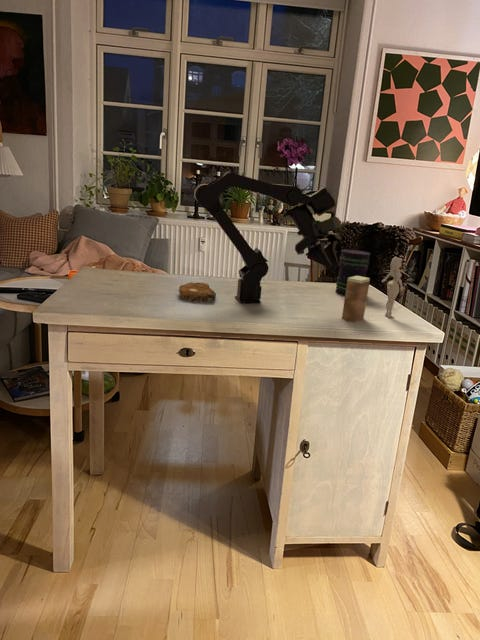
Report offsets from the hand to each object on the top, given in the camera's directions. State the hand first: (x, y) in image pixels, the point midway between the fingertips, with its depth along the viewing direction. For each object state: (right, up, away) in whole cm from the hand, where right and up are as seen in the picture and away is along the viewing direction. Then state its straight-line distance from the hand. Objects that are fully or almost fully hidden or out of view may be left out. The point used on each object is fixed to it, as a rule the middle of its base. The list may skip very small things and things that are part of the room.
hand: (334, 267), depth 146 cm
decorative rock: (-41, -9, +8) cm, 42 cm away
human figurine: (+17, -15, +5) cm, 23 cm away
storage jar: (+11, -6, +31) cm, 34 cm away
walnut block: (+5, -15, -1) cm, 16 cm away
